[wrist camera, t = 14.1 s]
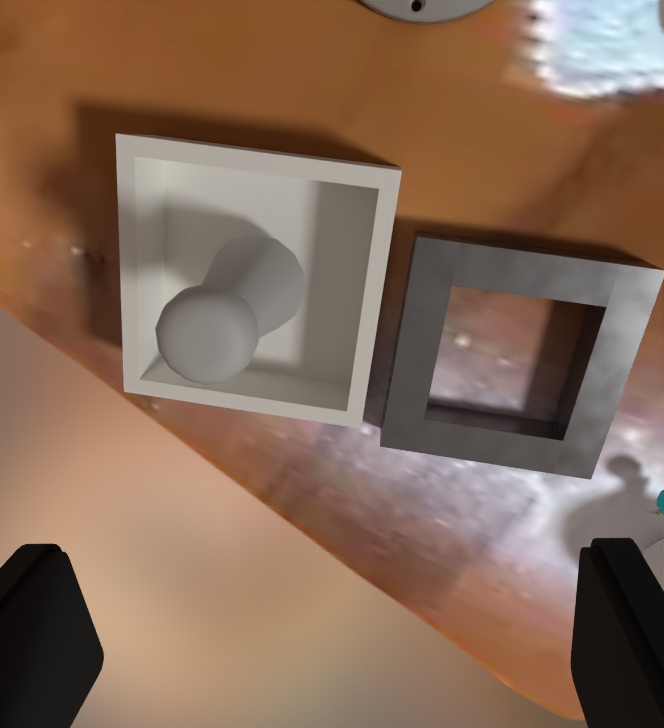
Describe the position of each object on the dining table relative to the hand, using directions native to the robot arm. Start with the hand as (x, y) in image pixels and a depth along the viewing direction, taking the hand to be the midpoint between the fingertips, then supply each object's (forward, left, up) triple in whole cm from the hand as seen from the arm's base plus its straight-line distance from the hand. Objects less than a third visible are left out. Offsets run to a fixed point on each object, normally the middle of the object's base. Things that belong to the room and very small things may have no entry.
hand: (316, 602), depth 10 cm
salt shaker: (+1, -7, -26) cm, 27 cm away
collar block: (+4, +9, -27) cm, 29 cm away
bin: (+1, -7, -27) cm, 28 cm away
